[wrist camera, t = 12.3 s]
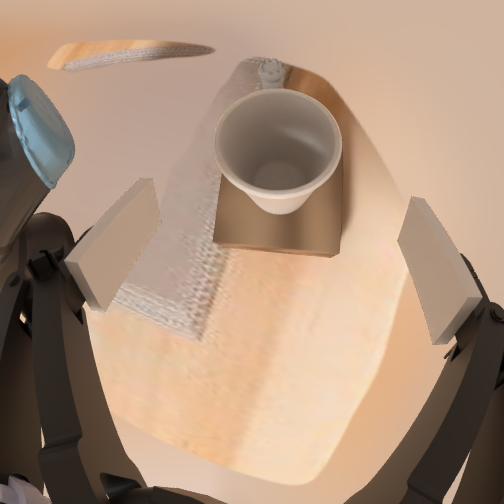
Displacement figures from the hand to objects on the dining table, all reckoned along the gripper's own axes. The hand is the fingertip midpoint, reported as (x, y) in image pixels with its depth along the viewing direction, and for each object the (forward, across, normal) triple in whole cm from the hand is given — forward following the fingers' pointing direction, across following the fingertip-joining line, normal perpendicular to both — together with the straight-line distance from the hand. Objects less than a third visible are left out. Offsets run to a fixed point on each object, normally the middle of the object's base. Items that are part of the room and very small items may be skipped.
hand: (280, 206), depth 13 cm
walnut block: (+16, 0, -8) cm, 18 cm away
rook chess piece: (+26, -2, +1) cm, 26 cm away
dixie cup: (+13, 0, -5) cm, 14 cm away
